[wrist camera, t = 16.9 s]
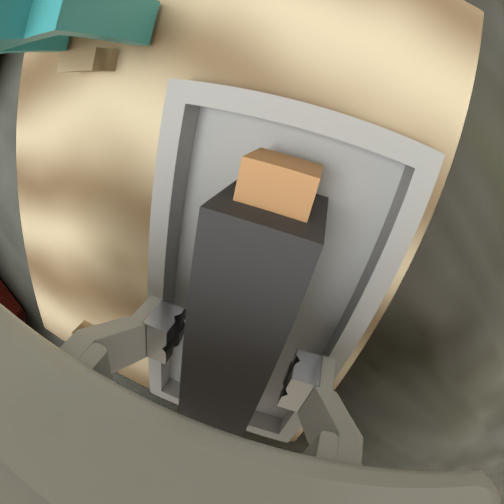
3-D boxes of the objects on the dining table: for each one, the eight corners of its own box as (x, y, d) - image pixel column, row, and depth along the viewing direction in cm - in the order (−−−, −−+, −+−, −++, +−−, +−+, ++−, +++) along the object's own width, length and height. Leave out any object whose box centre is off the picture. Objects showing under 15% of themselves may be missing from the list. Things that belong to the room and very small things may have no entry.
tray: (292, 422, 17) (287, 442, 16) (161, 375, 18) (150, 392, 17) (430, 148, 9) (445, 154, 7) (190, 81, 10) (168, 78, 8)
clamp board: (297, 428, 19) (290, 459, 17) (52, 319, 22) (33, 337, 20) (472, 18, 6) (500, 2, 4) (55, -14, 9) (23, -19, 7)
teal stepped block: (149, 45, 9) (-58, 33, 2) (57, 52, 10) (-93, 70, 3) (160, 2, 8) (-31, -46, 1) (64, 17, 9) (-83, 19, 2)
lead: (253, 399, 16) (232, 456, 13) (204, 381, 16) (177, 435, 13) (338, 165, 10) (341, 195, 6) (253, 140, 10) (208, 157, 6)
